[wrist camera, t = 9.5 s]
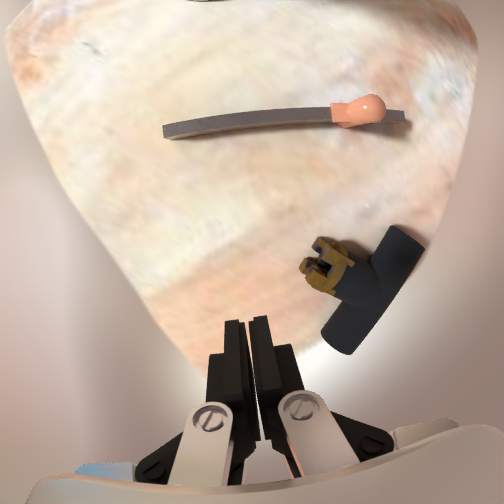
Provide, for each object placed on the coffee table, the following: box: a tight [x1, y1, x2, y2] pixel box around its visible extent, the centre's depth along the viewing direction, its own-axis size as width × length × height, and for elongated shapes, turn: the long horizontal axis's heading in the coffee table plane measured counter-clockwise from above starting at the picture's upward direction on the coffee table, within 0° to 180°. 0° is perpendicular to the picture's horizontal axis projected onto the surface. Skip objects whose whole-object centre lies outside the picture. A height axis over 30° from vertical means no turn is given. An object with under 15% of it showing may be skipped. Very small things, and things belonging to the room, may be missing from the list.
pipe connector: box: [299, 226, 425, 355], centre depth 29 cm, size 12×5×15 cm
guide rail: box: [162, 94, 405, 140], centre depth 23 cm, size 2×24×7 cm, turn 97°
